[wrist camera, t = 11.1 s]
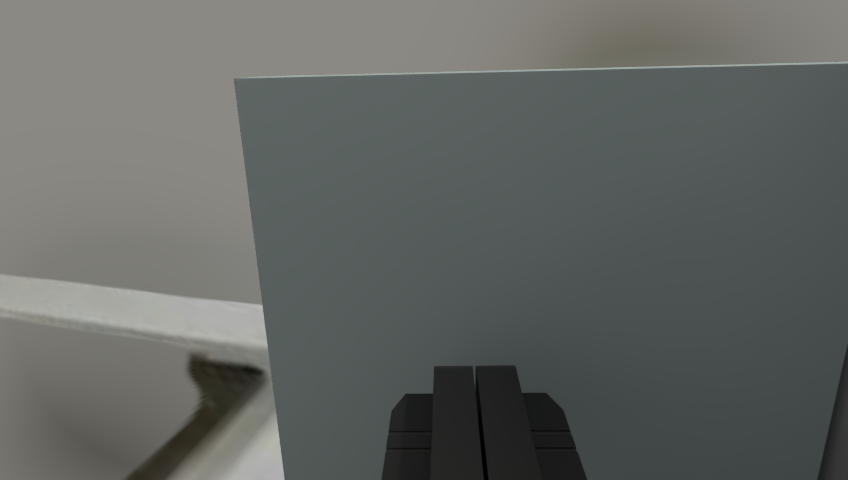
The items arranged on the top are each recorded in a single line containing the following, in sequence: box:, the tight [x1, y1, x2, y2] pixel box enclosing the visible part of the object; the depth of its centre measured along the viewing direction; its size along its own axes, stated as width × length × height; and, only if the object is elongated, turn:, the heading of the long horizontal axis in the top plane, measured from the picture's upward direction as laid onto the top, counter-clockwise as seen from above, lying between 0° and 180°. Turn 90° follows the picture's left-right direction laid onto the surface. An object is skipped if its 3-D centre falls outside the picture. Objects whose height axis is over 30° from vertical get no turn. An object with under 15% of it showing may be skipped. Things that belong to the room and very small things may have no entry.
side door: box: [234, 62, 848, 480], centre depth 12 cm, size 2×13×13 cm, turn 79°
